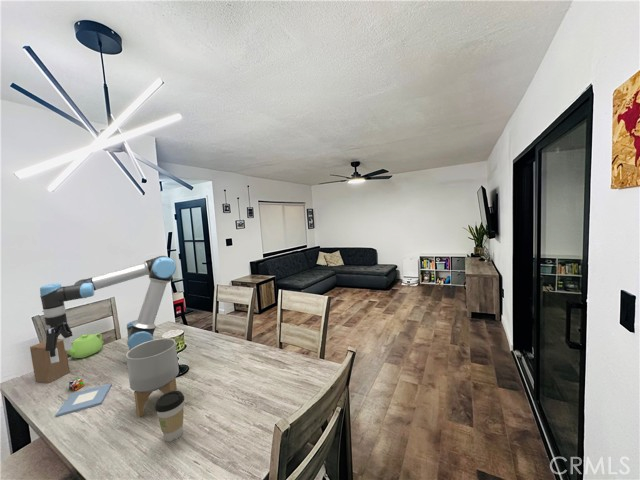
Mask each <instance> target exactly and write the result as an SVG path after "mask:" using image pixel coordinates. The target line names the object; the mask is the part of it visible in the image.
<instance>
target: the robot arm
mask: <svg viewBox="0 0 640 480" xmlns="http://www.w3.org/2000/svg"><path fill="white" fill-rule="evenodd" d="M176 271H177V265H176V263H175V260H173V259H172V258H171V257H169V256H167V255H158V256H155V257H154V258H153V257H152V258H151V259H148V260H144V262H142V263H139V264H136V265H135V264H134V265H133V266H129V267H124V268H121V269H117V270H114V271H111V272H106V273H102V274H99V275H96V276H93V277H88V278H83V279H79V280H77V281H76V282H75V283H74V284H73V285H66V286H62V283H59V282H58V283H50V284H45V285H43V286H41V287H39V293H40V294H39V295H40V296H39V297H40V300H41V305H42V311H41V312H42V313H43V315H44V322H45V326H50V328H49V329H46V332H45V333H46V340H45V341H46V349H45V351H49V354H50V360H51V363H55V362H59V356H58V351H57V348H56V345H57V340H58V339H59V336H60V335H61V336H62V337H63V338H62V339H63V342H64V348H65V351H66V350H71V349H72V339H71V337H73V332H72V329H71V327H70V326H69V323H68V320H67V318H68V317H67V314H66V305H65V302H68V301H73V300H74V301H75V300H80V299H81V300H82V299H87V298H90V297H93V296H94V295H95V291H97V290H101V289H104V288H107V287H111V286H113V285H114V286H115V285H118V284H121V283H124V282H128V281H131V280H134V279H138V278H141V277H143V276H144V277H146V276H148V279H149V284H148V287H147V289H146V293H145V296H144V299H143V303H142V305H141V308H140V311H139V314H138V316H137V319H136V320H132V321H129V322H128V323H127V324H126V330H127V341H126V343H127V347H128V351H129V350H131V349H132V348H134V347H135V346H137V345H140V344H142V343H145V342H148V341H151V340H154V334H155V330H156V323H155V321H156V318H157V315H158V312H159V308H160V306H161V302H162V300H163V296H164V294H165V291H166V287H167V285H168V283H171V282H172V278H173V275H174V274H175V273H176Z"/></svg>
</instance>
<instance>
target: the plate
mask: <svg viewBox="0 0 640 480" xmlns="http://www.w3.org/2000/svg"><path fill="white" fill-rule="evenodd" d="M112 386H113V384H112V382H110V383H107V384H104V385H99V386H95V387H91V388H87V389H84V390H80V391H74V392H71V394H69V396H68V397H67V399H66V400H65V402H64V403H63V404H62V405H61V407H60V408H59V409H58V411H57V412H56V414H55V416H54V417H55V418H56V417H58V418H59V417H61V416H65V415H68V414H71V413H76V412H78V411H81V410H86V409H89V408H92V407H96V406H99V405H103V402H104V401H105V398H106V396H107V395H108V393H109V391H110V390H111V387H112Z"/></svg>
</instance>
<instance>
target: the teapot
mask: <svg viewBox="0 0 640 480" xmlns="http://www.w3.org/2000/svg"><path fill="white" fill-rule="evenodd" d="M98 336H99V337H98ZM102 338H103V334H102V333H99V332H97V333H95V334H93V333H92V334H87V333H84V334H82V335H81V336H80V337H78V338H76V339H74V340H73V341H72V342H71V344H72V349H71V350H66V351H67V355H70V356H71V357H72V358H75V359H81V358H82V359H85V358H87V357H89V356H91V355H94V354H96V353H97V354H98V353H99V352H100V351H101V349H102V347H103V345H104V340H102Z"/></svg>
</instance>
